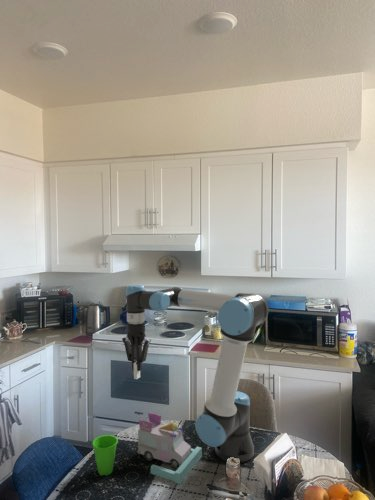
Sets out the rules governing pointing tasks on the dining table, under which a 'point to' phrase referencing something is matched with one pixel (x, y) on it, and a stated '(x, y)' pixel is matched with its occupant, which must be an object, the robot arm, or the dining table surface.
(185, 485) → the dining table surface
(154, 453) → the toy vehicle
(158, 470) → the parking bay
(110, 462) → the cup
